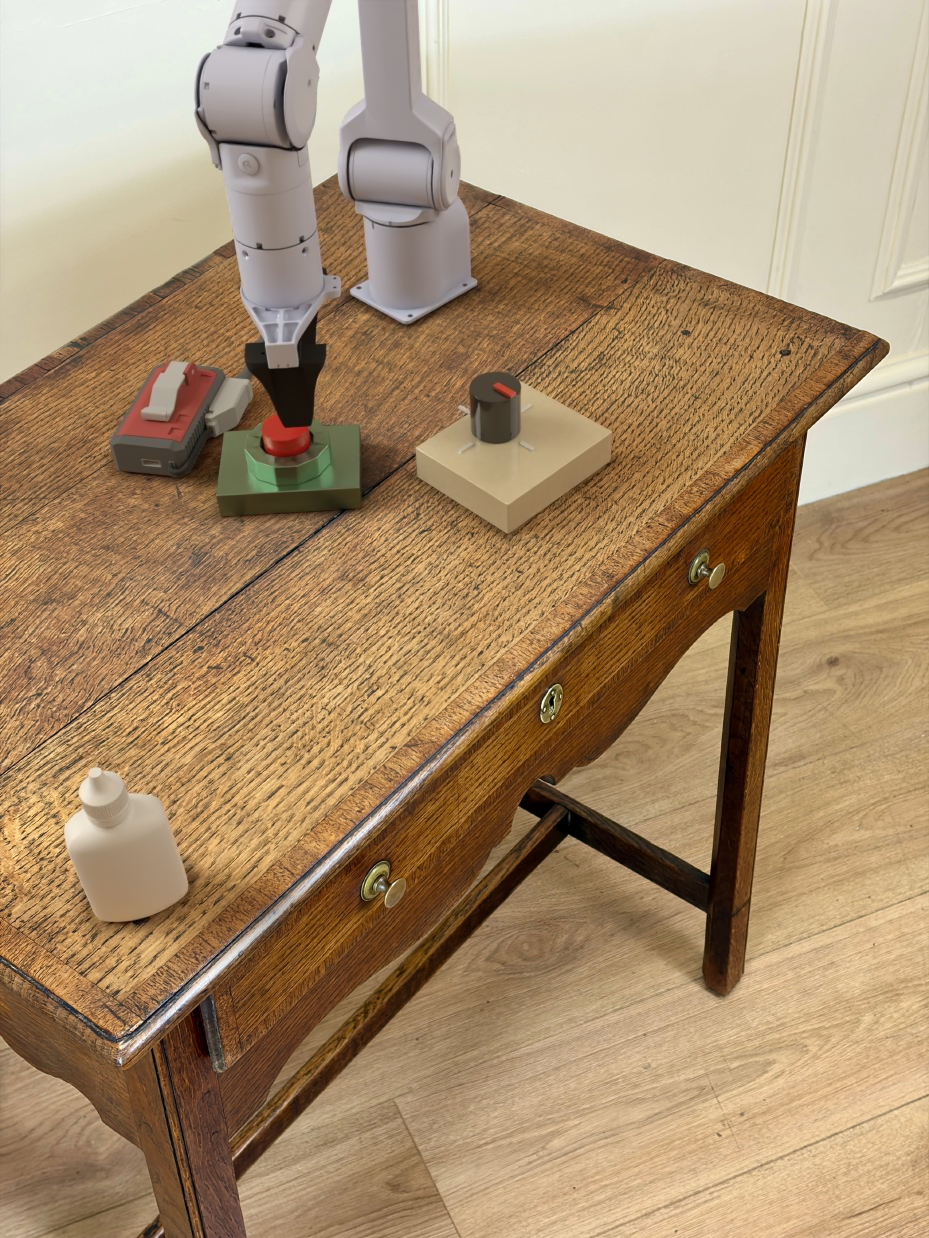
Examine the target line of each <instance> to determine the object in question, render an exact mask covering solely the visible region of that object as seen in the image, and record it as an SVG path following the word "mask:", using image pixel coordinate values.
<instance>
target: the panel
mask: <svg viewBox="0 0 929 1238" xmlns="http://www.w3.org/2000/svg"><path fill="white" fill-rule="evenodd" d="M519 381H520V383H521V431H520V433H519V434H518V436H517V437H515V438H514V439H512V440H510V441H508V442H505V443H498V444H493V443H486V442H483V441H480V440H479V439H477V438H476V437H475V436H474V435H473V434H472V432H471V426H470V408H467V407H465V406H464V405H462V404H460V405H458V406H457V410H460V411H461V412H463V413H465V415H464V416H462V417H461V418H459V419H458V420H456V421H455V422H453V423H451V424H450V425H448V426H447V427H446V428H444V429H442V430H441V431H439V432H438V433H435V434H434V435H433V436H431V437H430V438H428V439H426V440H424V441H423V442H421V443H420V444H418V445H417V446H416V447H415V449H414V450H415V462H416V464H415V465H416V476H417V478H418V479H420V480H421V481H423V482H424V483H426V484H428V485H430V486H431V487H432V488H434V489H436V490H437V491H439V492H440V493H442V494H444V495H445V496H447V497H448V498H450V499H452V500H453V501H455V502H456V503H458V504H460V505H461V506H462V507H464V508H466V509H467V510H469V511H470V512H472V513H473V514H475V515H477V516H478V517H480V518H481V519H483V520H484V521H486V522H488V523H489V524H491V525H493V526H494V527H495V528H498V529H499V530H500V531H502V532H504V533H505V534H507V535H509V534H510V533H512V532H513V531H515V530H516V529H518V528H520V526H522V525H523V524H525V523H526V522H527V521H528V520H530V519H531V518H533V517H534V516H536V515H538V513H540V512H541V511H543V510H545V508H547V507H548V506H550V505H552V504H553V503H554V502H555V501H557V500H559V498H561V497H562V496H564V495H565V494H566V493H568V492H570V491H571V490H572V489H574V488H575V487H576V486H577V485H580V483H581V482H583V481H585V480H586V479H588V478H589V477H590V476H592V475H593V474H595V473H596V472H598V471H599V470H600V469H602V468H604V466H605V465H607V464H608V463H610V462H611V458H612V444H613V430H610V429H609V428H607V427H605V426H603V425H602V424H601V423H598V422H597V421H595V420H593V419H590V418H589V417H587V416H585V415H583V414H581V413H580V412H578V411H576V410H574V409H572V408H570V407H569V406H567V405H565V404H563V403H562V402H560V401H557V400H556V399H555V398H552V397H551V396H548V395H547V394H544V393H543V392H541V391H539V390H537V389H536V388H534V387H532V386H531V385H529V384H527V383H525V382H523V381H521V380H519Z"/></svg>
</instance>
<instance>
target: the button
mask: <svg viewBox="0 0 929 1238" xmlns="http://www.w3.org/2000/svg"><path fill="white" fill-rule="evenodd" d="M263 422H264V423H263V424H262V428H261V430H262V436H263V442H264V447H265V450H266V451H267V453H268V454H270V455H272V456H275V457H278V458H281V457H294V456H297V455H299V454H302V453H304V452H305V451H306V450H307V449H308V448H309V446H310V443H311V441H310V434H309V427H293V428H285V427H284V426H283V425H282V423H281V421H280V419H279V417H278V415H277V413H275V414H272V415H271V416H269V417H268V418H266V419H265V420H264V421H263Z"/></svg>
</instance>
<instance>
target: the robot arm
mask: <svg viewBox="0 0 929 1238" xmlns="http://www.w3.org/2000/svg"><path fill="white" fill-rule="evenodd" d="M332 3H333V0H236V1H235V3H234V7H233V11H232V13H231V17H230V19H229V23H228V25H227V30H226V32H225V36H224V39H223V42H222V44H218V45H216V48H213V49H212V50H211V52H210V51H209V52H206V53H205V54H204V55H202V57H201V58H200V61H199V63H198V65H197V68H196V72H195V76H194V78H195V79H194V86H193V98H194V110H193V116H194V120H195V123H196V126H197V129H198V131H199V133H200V135H201V137H202V138H203V139H204V140H205V142H206V144H207V146H208V149H209V153H210V158H211V164H212V165H214V167H215V168H216V169H218V171H221V172H222V177H223V183H224V190H225V195H226V200H227V207H228V212H229V213H228V214H229V219H230V224H231V232H232V235H233V242H234V249H235V251H236V258H237V264H238V270H239V271H238V272H239V276H240V282H241V284H240V288H239V293H240V300H241V303H242V305H243V307H244V308H245V309H244V310H246V312H247V314H248V315H249V317H250V319H251V320H252V322H253V324H254V326H255V327H256V329H257V330H258V332H259V335H262V337H263V339H264V341H265V342H258V343H256V342H246V343H245V344H244V354H243V357H244V363H246V366H247V368H248V370H249V372H251V373H252V374H253V376H254V377H255V378H256V379H257V380H258V381H259V382H260V384H261V385H262V386H263V388H264V389H265V391H266V393H267V395H268V397H269V399H270V401H271V403H272V406H273V408H274V410H275V412H276V413H275V414H277V415H278V417H279V419H280V421H281V423H282V425H283V426H284V427H285V428H293V427H309V426H311V425H312V421H313V419H314V414H315V397H316V396H315V395H316V386H317V382H318V379H319V376H320V373H321V371H322V370H323V368H324V366H325V363H326V360H327V343H326V342H325V343H317V324H318V317H319V311H320V309H321V307H322V306H323V304H324V303H325V302H326V301H327V300H333V299H338V298H340V297H341V295H342V282H341V278H340V276H338V275H333V274H332V275H328V271H327V268H326V267H324V266H323V263H322V253H321V245H320V238H319V237H320V236H319V230H318V229H319V228H318V222H317V213H316V206H315V205H316V204H315V197H314V188H313V179H312V171H311V163H310V154H309V146H308V145H309V144H308V142H309V140H310V138H311V136H312V132H313V129H314V127H315V123H316V118H317V109H318V87H319V86H318V85H319V80H320V71H321V68H320V66H319V64H318V60H317V55H318V50H319V48H320V44H321V40H322V37H323V33H324V30H325V27H326V23H327V19H328V16H329V13H330V9H331V6H332ZM357 12H358V24H359V39H360V53H361V65H362V67H361V68H362V80H363V92H364V93H363V94H364V97H363V98H362V99H361V100H359V101H358V102H356V103H355V104H354V105H352V106H351V108H349V109H348V111H347V112H346V113H345V115H344V117H343V119H342V122H341V123H340V125H339V129H338V134H339V135H338V136H339V150H338V154H337V155H338V157H337V181H338V185H339V189H340V191H341V193H342V195H343V196H344V198H345V199H346V200H347V201H348V202H350V203H354V206H355V207H354V209H355V214H357V215H361V216H362V221H363V232H364V243H365V254H366V265H367V275H368V279H366V280H364V281H362V282H361V283H359V284H357V285H356V286H353V287H351V288H350V290H349V294H350V296H352V297H354V298H356V299H358V300H359V301H361V302H363V303H365V304H367V305H368V306H370V307H372V308H374V309H376V310H377V311H379V312H381V313H383V314H385V315H386V316H389V317H390V318H392V319H393V320H396V321H397V322H399V323H401V324H403V325H410V324H412V323H414V322H415V321H417V320H419V319H421V318H422V317H424V316H427V315H428V314H429V313H431V312H433V311H435V310H437V309H438V308H440V307H442V306H443V305H445V304H448V303H449V302H450V301H452V300H454V299H456V298H458V297H459V296H461V295H462V294H464V293H466V292H468V291H470V290H472V289H473V288H475V287H476V286H477V285H478V280H477V278H475V277H473V276H472V265H471V228H470V226H471V225H470V218H469V215H468V211H467V209H466V206H465V204H464V202H463V200H461V199H462V198H460V197H459V195H458V194H459V193H458V192H459V188H460V184H461V183H460V182H461V171H462V155H461V149H460V145H459V144H458V137H457V126H456V123H455V116H454V115H453V114H452V113H450V112H449V111H448V110H447V109H445V108H444V107H442V106H441V105H440V104H438V103H437V102H436V101H434V100H433V99H432V98H430V97H429V96H428V95H426V94H425V93H424V92H423V90H422V63H421V62H422V61H421V44H420V43H421V42H420V41H421V40H420V38H421V37H420V19H419V16H420V15H419V0H357Z"/></svg>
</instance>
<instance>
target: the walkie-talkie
mask: <svg viewBox="0 0 929 1238" xmlns="http://www.w3.org/2000/svg"><path fill="white" fill-rule="evenodd" d="M258 342H265V341H264V339H263V337H262V335H261V334H259V337H258V339H257V340H256V342H255V343H258ZM244 363H245V362H244ZM253 376H254V375H253V374H252V373H251V372H249V370H248V368H247V366H246V363H245V364H244V365H243V367H242V369H241V371H240V373H238V374H237V376H236V377H227V376H226V373H225V372H224V370H222V369H220V368H218V367H216V366H208V365H207V366H206V365H198V364H196V363H195V362H190V361H178V360H168V361H167V362H162V363H159V364H157V365H155V366H153V367H152V368H151V370H150V371H149V373H148V375H147V376H146V377H145V380H144V382H143V383H142V385H141V386H140V388H139V390H138V392H137V393H136V395H135V397H134V400H132V403H130V404H129V405H130V406H129V407H128V409H127V411H126V412H125V414H124V415H123V416H122V419H121V420H120V423H118V426H117V427H116V428H115V431H113V433H112V435H111V437H110V440H108V444H109V448H110V451H111V456H112V458H113V461H114V465H115V466H116V468H117V469H118V471H120V472H121V471H122V472H128V473H129V472H130V473H140V474H148V475H158V476H159V475H160V476H168V477H169V476H170V477H171V478H174V479H181V478H184V477H186V476H187V475H188V474H190V473H191V471H192V470H193V469H194V465H196V462H197V461H198V458H199V456H200V453H202V449H203V448H204V446H205V445H206V443H207V441H208V440H209V439H210V438H216V437H219V436H220V435H222V434H224V432H226V431H231V430H232V429H233V428H236V427H237V426H238V425H239V423H240V421H241V419H242V417H243V415H244V413H245V410H246V409H247V408H248V406H249V404H250V403H251V402H252V400H253V398H254V392H253V388H252V387H253V386H252V378H253Z"/></svg>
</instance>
